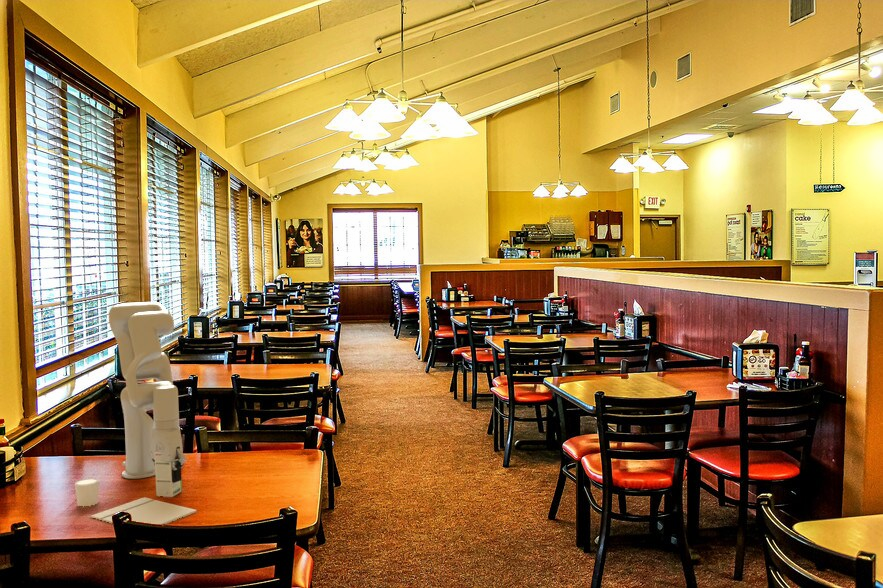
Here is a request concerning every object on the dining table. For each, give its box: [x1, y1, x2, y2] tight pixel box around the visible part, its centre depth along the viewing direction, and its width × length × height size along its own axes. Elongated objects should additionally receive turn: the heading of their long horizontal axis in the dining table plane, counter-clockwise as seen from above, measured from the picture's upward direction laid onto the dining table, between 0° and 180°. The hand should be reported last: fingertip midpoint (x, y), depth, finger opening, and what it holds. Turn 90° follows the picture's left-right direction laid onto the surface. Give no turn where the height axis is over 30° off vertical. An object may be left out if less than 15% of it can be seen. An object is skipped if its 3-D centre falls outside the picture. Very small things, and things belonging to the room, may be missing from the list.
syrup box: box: [154, 451, 183, 498], centre depth 228 cm, size 6×6×14 cm
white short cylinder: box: [74, 478, 100, 508], centre depth 220 cm, size 7×7×7 cm
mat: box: [90, 496, 197, 525], centre depth 210 cm, size 24×18×1 cm
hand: (168, 479), depth 228 cm, fingers closed on syrup box, 7 cm apart
